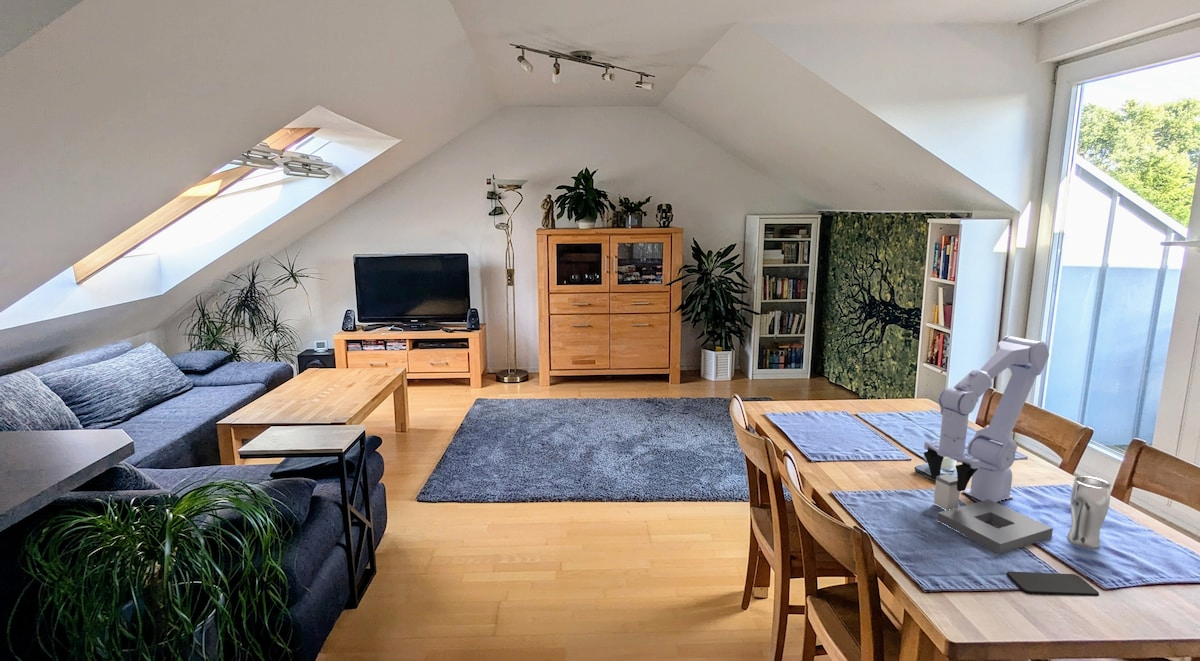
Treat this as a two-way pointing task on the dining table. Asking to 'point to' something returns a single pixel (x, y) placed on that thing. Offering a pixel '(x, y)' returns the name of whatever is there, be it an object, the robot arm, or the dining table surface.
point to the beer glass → (1088, 510)
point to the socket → (1000, 540)
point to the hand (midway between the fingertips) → (947, 484)
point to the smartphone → (1051, 584)
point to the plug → (946, 492)
